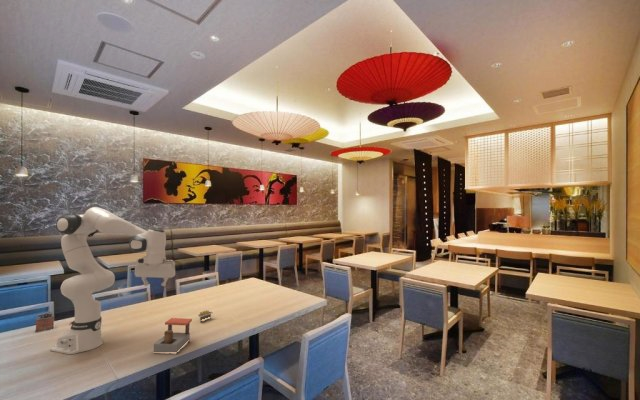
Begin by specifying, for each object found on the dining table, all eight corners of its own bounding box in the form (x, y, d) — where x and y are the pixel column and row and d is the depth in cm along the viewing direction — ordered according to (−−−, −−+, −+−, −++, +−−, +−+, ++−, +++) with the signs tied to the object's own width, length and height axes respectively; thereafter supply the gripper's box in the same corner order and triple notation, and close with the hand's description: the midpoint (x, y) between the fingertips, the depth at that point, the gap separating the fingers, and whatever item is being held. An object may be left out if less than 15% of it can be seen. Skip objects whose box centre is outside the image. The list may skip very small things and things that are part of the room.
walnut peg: (166, 348, 153) (167, 329, 153) (173, 349, 153) (174, 330, 153) (162, 352, 149) (162, 333, 149) (169, 352, 149) (170, 333, 149)
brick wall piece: (53, 327, 177) (54, 310, 177) (53, 329, 174) (54, 312, 175) (35, 330, 171) (36, 313, 172) (35, 332, 169) (36, 315, 169)
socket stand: (153, 353, 148) (154, 329, 148) (170, 339, 164) (171, 318, 164) (176, 354, 147) (177, 330, 148) (191, 340, 163) (192, 318, 164)
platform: (186, 323, 188) (187, 313, 188) (210, 315, 203) (210, 306, 203) (197, 327, 182) (198, 317, 182) (221, 319, 197) (221, 309, 197)
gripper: (178, 258, 154) (177, 284, 154) (141, 257, 155) (140, 283, 155) (171, 260, 148) (170, 287, 148) (133, 259, 149) (132, 286, 148)
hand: (154, 285), depth 151 cm, fingers open, 8 cm apart
